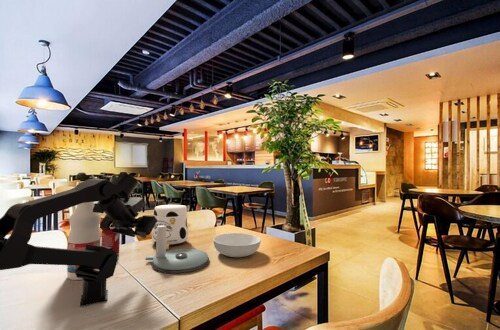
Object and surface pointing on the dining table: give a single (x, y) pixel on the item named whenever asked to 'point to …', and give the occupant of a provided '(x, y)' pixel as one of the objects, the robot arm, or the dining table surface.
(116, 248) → the soda can
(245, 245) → the serving bowl
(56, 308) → the dining table surface
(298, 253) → the dining table surface
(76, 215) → the fruit juice
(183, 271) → the pivot base
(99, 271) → the robot arm
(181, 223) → the milk container
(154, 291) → the dining table surface
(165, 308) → the dining table surface
